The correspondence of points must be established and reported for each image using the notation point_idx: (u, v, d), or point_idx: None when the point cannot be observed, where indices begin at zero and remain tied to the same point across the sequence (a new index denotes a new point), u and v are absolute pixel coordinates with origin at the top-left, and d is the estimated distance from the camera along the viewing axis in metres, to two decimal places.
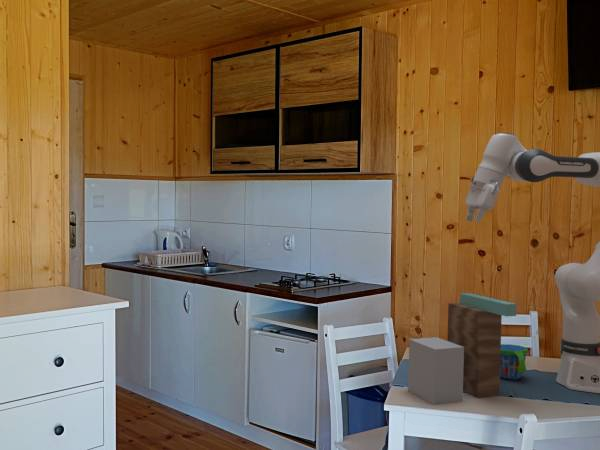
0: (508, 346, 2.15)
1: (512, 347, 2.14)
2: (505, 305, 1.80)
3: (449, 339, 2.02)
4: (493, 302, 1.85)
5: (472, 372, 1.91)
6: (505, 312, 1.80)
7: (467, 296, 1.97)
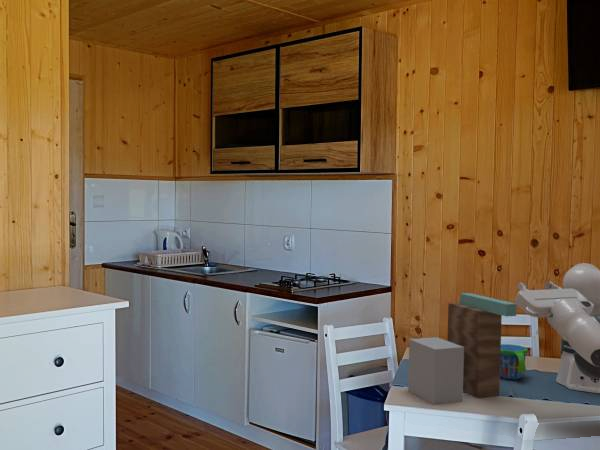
0: (508, 346, 2.15)
1: (512, 347, 2.14)
2: (505, 305, 1.80)
3: (449, 339, 2.02)
4: (493, 302, 1.85)
5: (472, 372, 1.91)
6: (505, 312, 1.80)
7: (467, 296, 1.97)
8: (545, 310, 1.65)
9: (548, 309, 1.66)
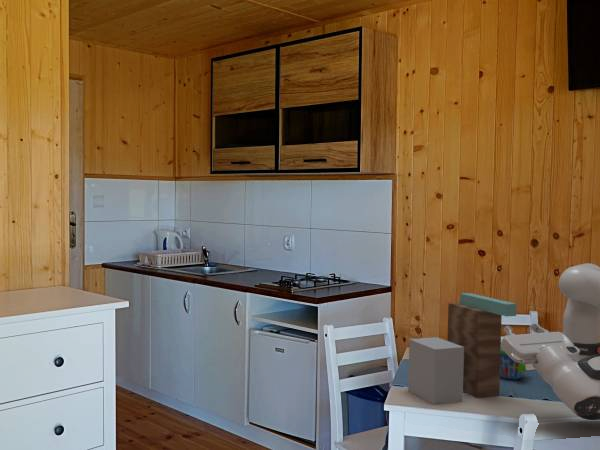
0: None
1: None
2: (505, 305, 1.80)
3: (449, 339, 2.02)
4: (493, 302, 1.85)
5: (472, 372, 1.91)
6: (505, 312, 1.80)
7: (467, 296, 1.97)
8: (530, 356, 1.65)
9: (533, 355, 1.65)
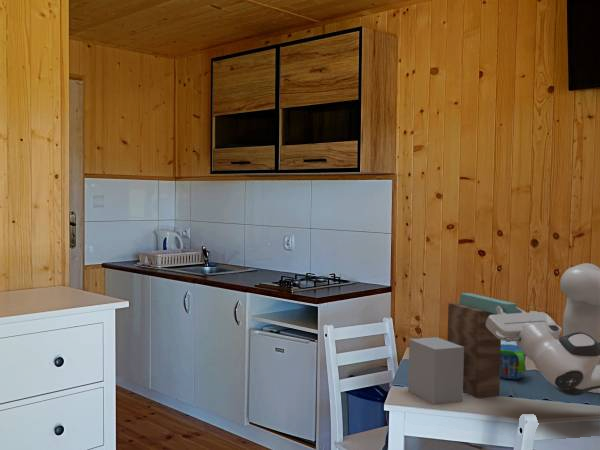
0: (508, 346, 2.15)
1: (512, 347, 2.14)
2: (505, 305, 1.80)
3: (449, 339, 2.02)
4: (493, 302, 1.85)
5: (472, 372, 1.91)
6: (505, 312, 1.80)
7: (467, 296, 1.97)
8: (514, 334, 1.71)
9: (517, 333, 1.72)
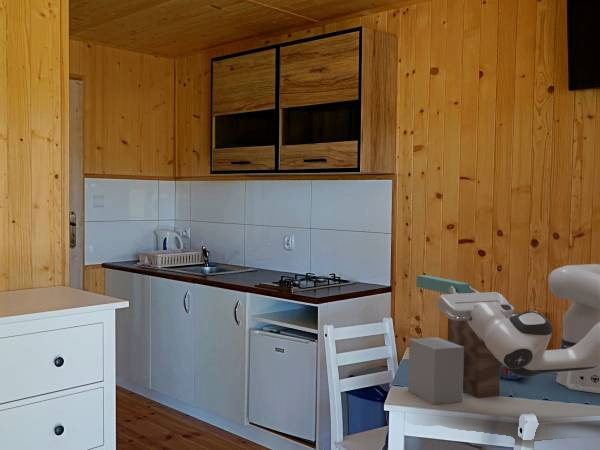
0: None
1: None
2: (458, 285, 1.77)
3: (449, 339, 2.02)
4: (447, 283, 1.82)
5: (472, 372, 1.91)
6: (458, 292, 1.77)
7: (423, 278, 1.93)
8: (465, 313, 1.68)
9: (468, 312, 1.68)
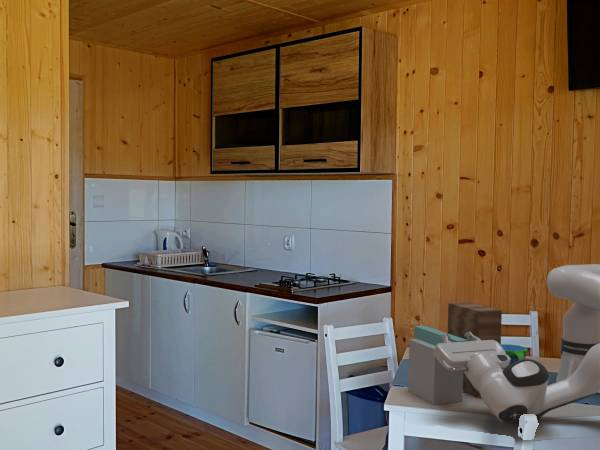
0: (508, 346, 2.15)
1: (512, 347, 2.14)
2: (456, 341, 1.77)
3: None
4: None
5: None
6: None
7: (420, 329, 1.94)
8: (461, 364, 1.68)
9: (464, 363, 1.69)
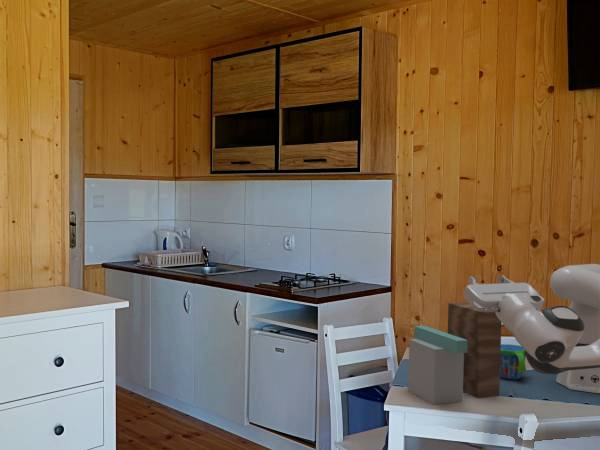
0: (508, 346, 2.15)
1: (512, 347, 2.14)
2: (456, 341, 1.77)
3: None
4: (445, 337, 1.82)
5: (472, 372, 1.91)
6: (456, 349, 1.77)
7: (420, 329, 1.94)
8: (493, 304, 1.61)
9: (496, 303, 1.61)
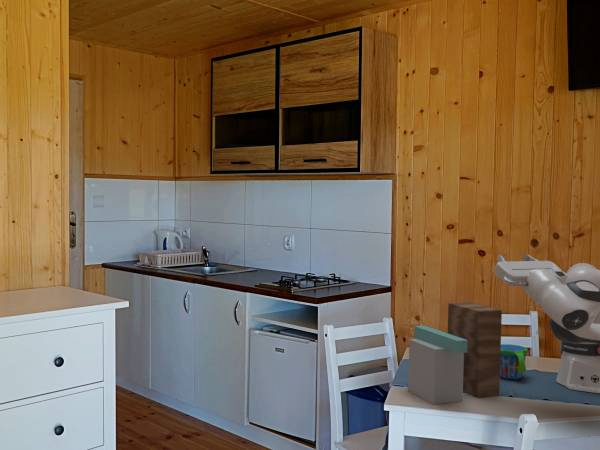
0: (508, 346, 2.15)
1: (512, 347, 2.14)
2: (456, 341, 1.77)
3: None
4: (445, 337, 1.82)
5: (472, 372, 1.91)
6: (456, 349, 1.77)
7: (420, 329, 1.94)
8: (521, 279, 1.77)
9: (524, 278, 1.78)
